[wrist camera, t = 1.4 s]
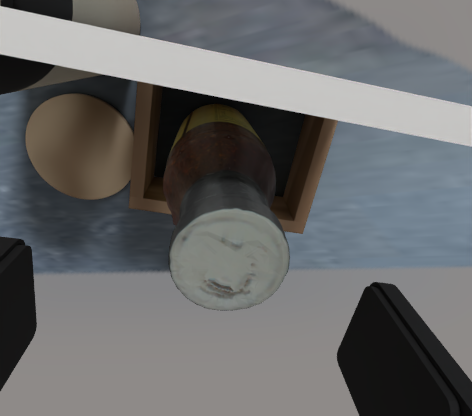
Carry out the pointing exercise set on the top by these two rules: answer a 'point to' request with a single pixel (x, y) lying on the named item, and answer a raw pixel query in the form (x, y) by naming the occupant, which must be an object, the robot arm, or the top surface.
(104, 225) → the top surface
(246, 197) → the sauce bottle
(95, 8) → the stoneware storage canister
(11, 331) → the robot arm
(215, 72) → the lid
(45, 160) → the disc
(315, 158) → the wooden open box
